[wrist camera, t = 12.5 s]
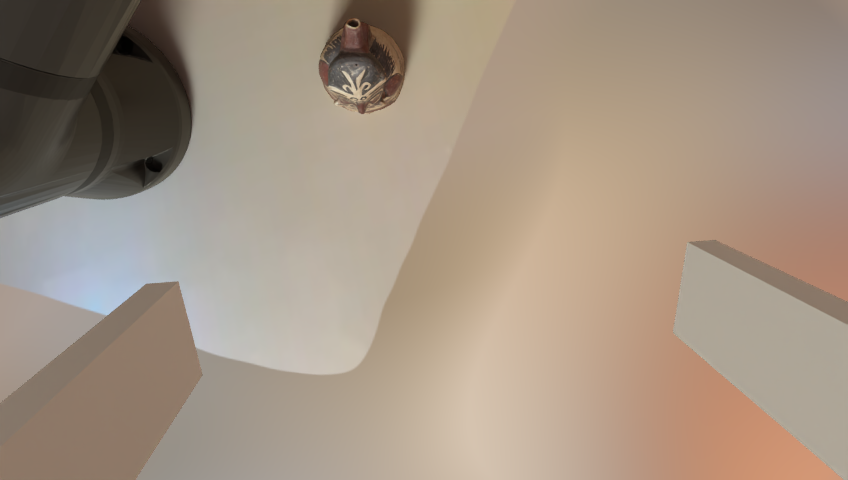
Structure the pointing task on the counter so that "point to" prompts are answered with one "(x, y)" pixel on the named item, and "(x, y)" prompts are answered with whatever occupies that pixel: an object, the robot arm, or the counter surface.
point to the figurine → (362, 68)
